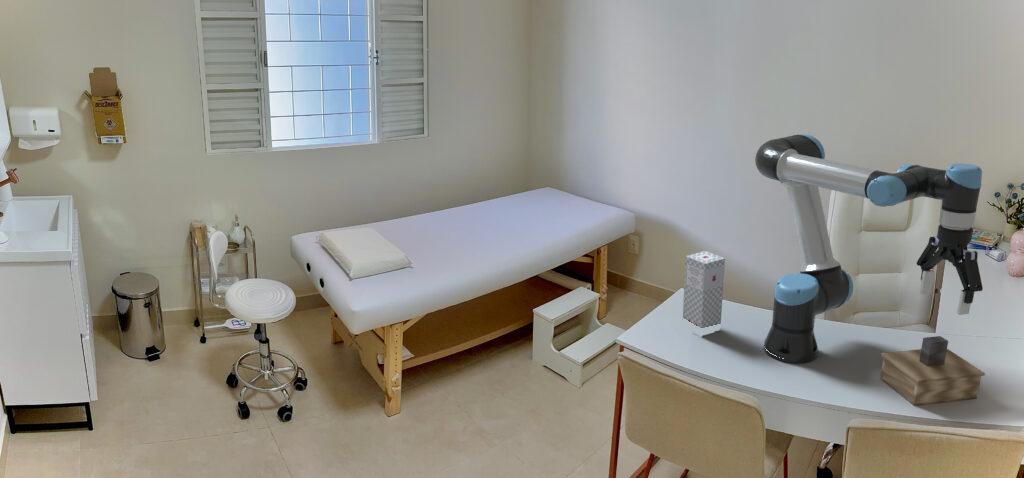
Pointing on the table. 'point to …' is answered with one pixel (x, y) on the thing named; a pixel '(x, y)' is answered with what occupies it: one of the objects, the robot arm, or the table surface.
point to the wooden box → (929, 387)
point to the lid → (932, 362)
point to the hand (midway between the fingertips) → (943, 303)
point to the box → (703, 289)
